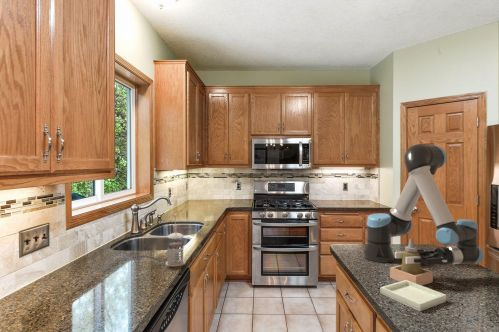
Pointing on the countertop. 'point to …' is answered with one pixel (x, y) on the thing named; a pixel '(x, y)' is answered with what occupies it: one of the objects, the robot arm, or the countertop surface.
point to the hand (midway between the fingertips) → (400, 257)
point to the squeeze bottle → (411, 252)
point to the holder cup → (411, 276)
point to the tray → (413, 295)
